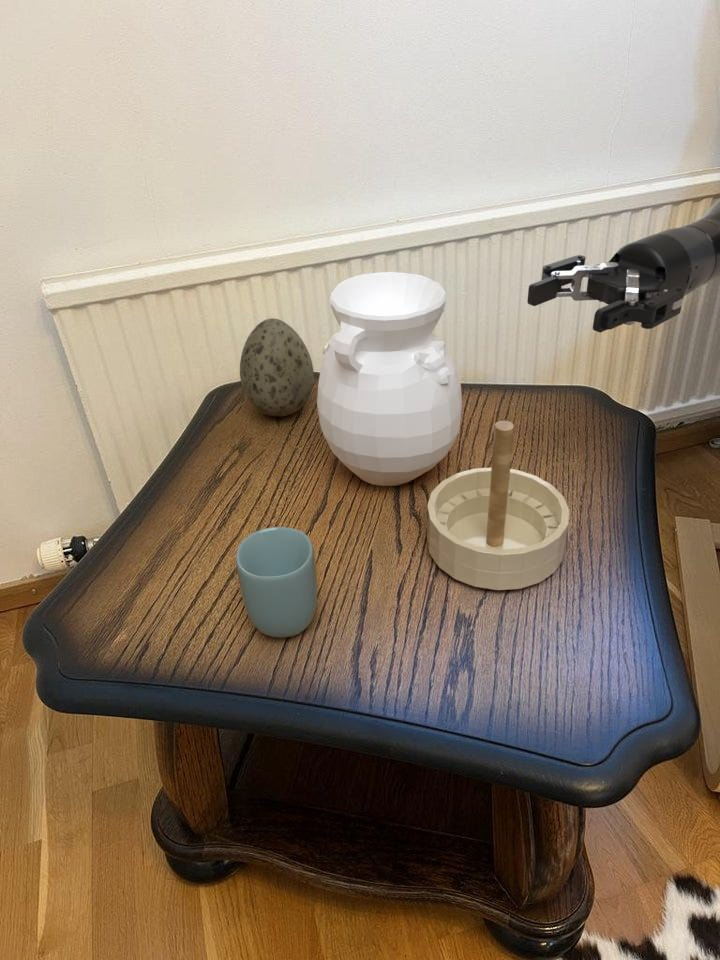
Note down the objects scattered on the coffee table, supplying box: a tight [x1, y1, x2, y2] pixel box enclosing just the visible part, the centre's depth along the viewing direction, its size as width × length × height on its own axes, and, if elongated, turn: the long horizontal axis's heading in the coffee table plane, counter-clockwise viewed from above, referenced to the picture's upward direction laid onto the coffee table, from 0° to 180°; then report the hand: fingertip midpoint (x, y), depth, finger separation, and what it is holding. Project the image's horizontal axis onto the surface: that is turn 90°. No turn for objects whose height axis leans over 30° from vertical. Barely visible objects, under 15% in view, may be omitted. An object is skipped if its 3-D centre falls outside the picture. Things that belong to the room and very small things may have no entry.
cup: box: [235, 526, 318, 639], centre depth 78 cm, size 8×8×10 cm
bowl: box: [426, 466, 571, 591], centre depth 87 cm, size 16×16×6 cm
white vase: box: [316, 271, 463, 487], centre depth 95 cm, size 19×18×25 cm
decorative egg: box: [239, 317, 315, 418], centre depth 111 cm, size 11×11×15 cm
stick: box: [486, 420, 515, 547], centre depth 84 cm, size 2×2×16 cm
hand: (562, 308), depth 76 cm, fingers open, 8 cm apart
